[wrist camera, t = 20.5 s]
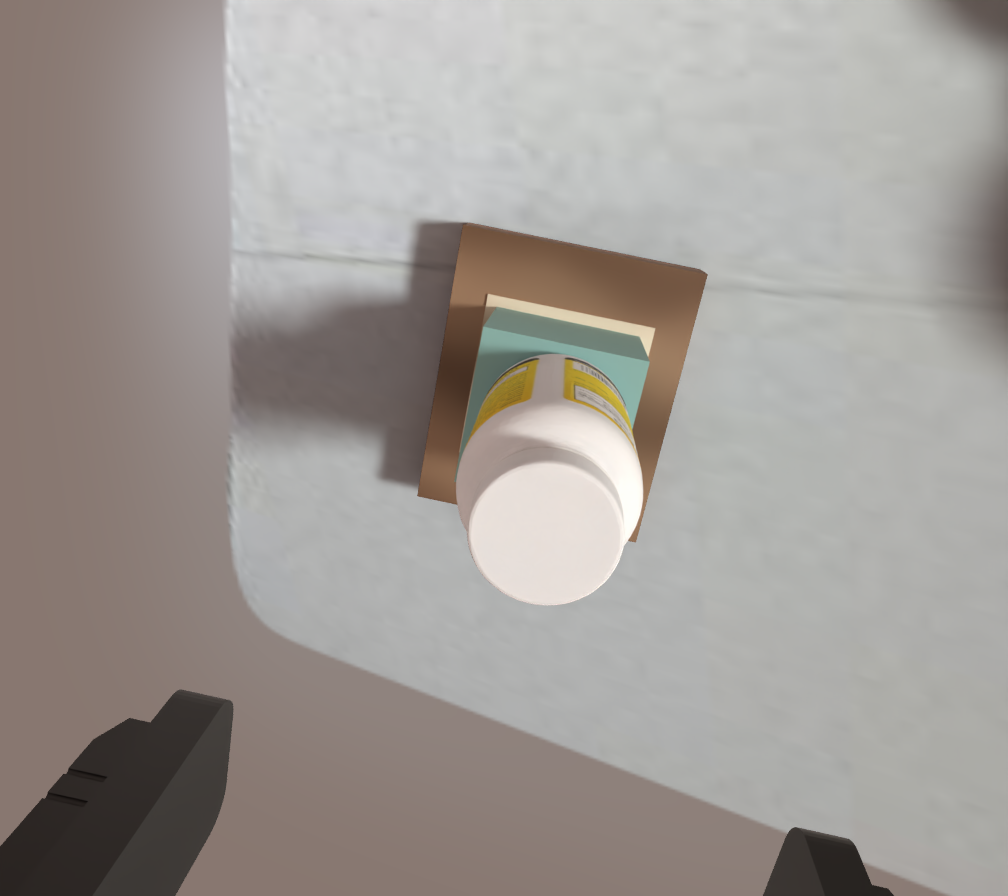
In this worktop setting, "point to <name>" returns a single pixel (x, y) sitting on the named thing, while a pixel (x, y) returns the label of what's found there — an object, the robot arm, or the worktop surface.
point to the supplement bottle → (550, 480)
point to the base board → (569, 297)
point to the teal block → (535, 335)
